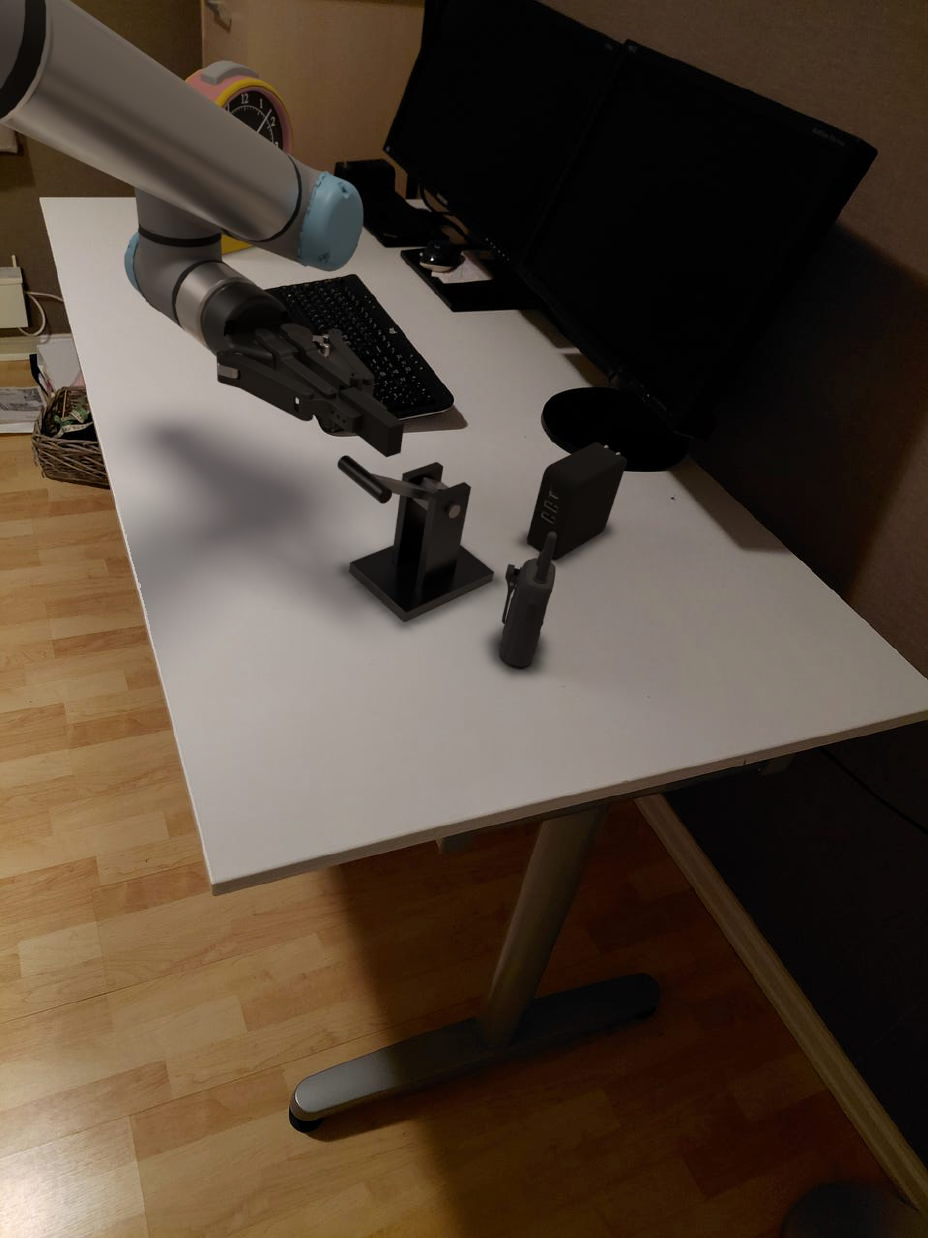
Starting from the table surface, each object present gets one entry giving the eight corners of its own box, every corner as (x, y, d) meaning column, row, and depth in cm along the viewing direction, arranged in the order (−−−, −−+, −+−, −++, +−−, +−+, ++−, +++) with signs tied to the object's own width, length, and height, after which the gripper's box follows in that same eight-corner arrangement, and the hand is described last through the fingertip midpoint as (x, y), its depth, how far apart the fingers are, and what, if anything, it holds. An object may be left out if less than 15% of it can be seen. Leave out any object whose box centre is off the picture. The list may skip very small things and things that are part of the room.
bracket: (404, 622, 82) (418, 523, 74) (348, 571, 86) (357, 473, 78) (492, 580, 89) (514, 486, 81) (437, 535, 93) (452, 442, 85)
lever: (373, 507, 71) (386, 482, 70) (332, 472, 74) (344, 448, 73) (457, 524, 81) (469, 502, 80) (417, 493, 84) (429, 471, 83)
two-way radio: (530, 674, 79) (567, 548, 69) (484, 663, 79) (515, 535, 69) (536, 635, 83) (573, 511, 73) (492, 625, 83) (523, 500, 74)
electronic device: (525, 542, 95) (544, 466, 88) (577, 512, 101) (599, 439, 94) (553, 561, 93) (575, 485, 86) (605, 530, 99) (629, 456, 92)
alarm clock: (208, 258, 140) (200, 73, 123) (169, 240, 143) (156, 58, 126) (294, 234, 154) (297, 66, 137) (257, 219, 157) (255, 52, 140)
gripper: (294, 346, 85) (449, 460, 73) (174, 372, 77) (325, 502, 66) (296, 271, 80) (462, 380, 68) (167, 290, 72) (330, 416, 61)
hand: (395, 440), depth 67 cm, fingers closed
